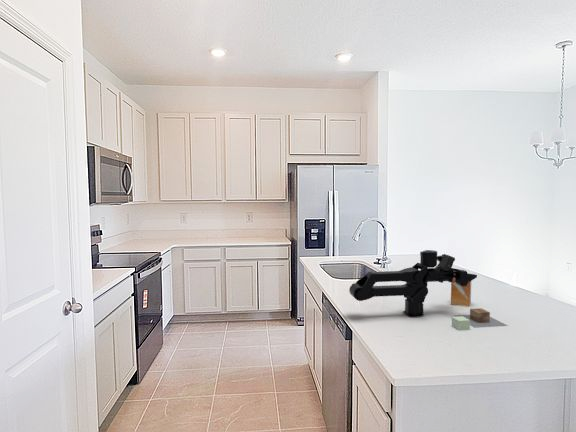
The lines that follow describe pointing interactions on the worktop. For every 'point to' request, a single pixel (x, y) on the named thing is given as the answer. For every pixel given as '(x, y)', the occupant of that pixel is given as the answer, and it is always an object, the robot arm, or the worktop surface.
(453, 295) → the small box
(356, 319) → the worktop surface
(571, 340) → the worktop surface
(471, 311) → the walnut block
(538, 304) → the worktop surface
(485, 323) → the slate mat
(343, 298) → the worktop surface
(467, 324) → the sage block
